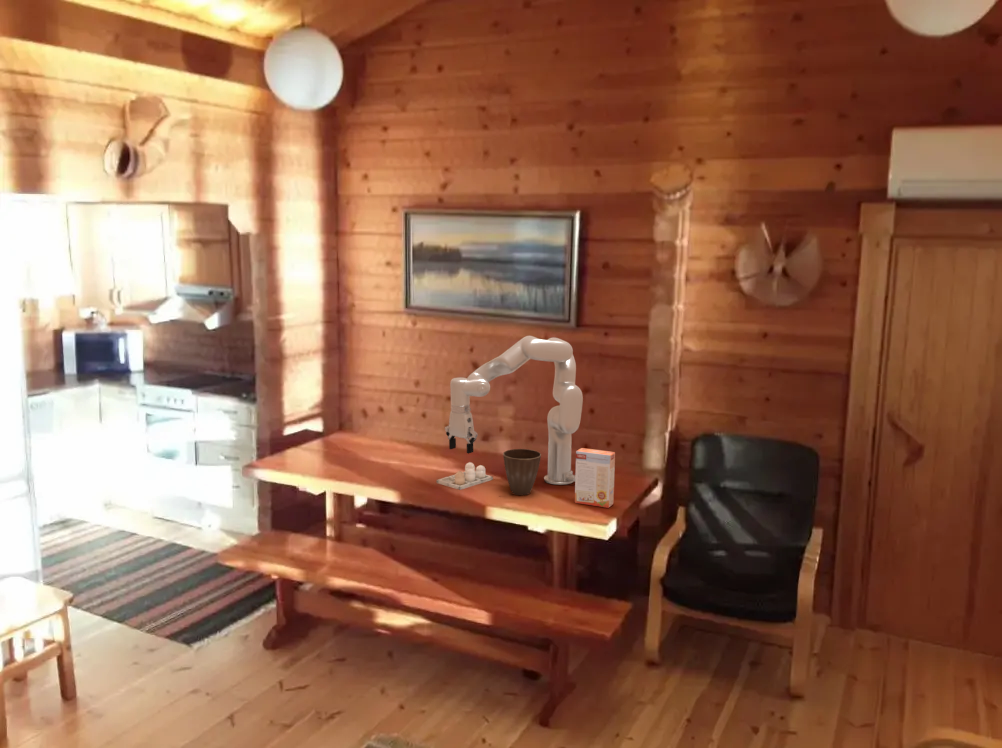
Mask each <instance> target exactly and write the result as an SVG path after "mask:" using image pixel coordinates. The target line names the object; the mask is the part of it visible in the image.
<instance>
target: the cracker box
mask: <svg viewBox="0 0 1002 748" xmlns="http://www.w3.org/2000/svg"><path fill="white" fill-rule="evenodd" d="M615 463H616V452H615V451H608V450H603V449H602V450H601V449H592V448H584V447H581V448H579V449H578V450H576V451H575V473H574V475H575V481H574V482H575V483H574V484H575V485H574V503H575V504H581V505H587V506H588V505H589V506H594V507H601V508H606V509H609V508H611V506H613V505H614V495H615V471H616V470H615V467H616V465H615Z"/></svg>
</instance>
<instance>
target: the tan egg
mask: <svg viewBox="0 0 1002 748" xmlns="http://www.w3.org/2000/svg"><path fill="white" fill-rule="evenodd" d="M463 472H464V471H457V472H456V473H455V474H454V475H455V484H456V485H459V486H461V485H464V484H465V475H464V473H463Z"/></svg>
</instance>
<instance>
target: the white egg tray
mask: <svg viewBox="0 0 1002 748" xmlns="http://www.w3.org/2000/svg"><path fill="white" fill-rule="evenodd" d="M462 472H463V473H464V475H465V471H462ZM493 479H494V477H493V476H492V475H487V474H485V478H483V479H478V478H476V471H475V481H474V482H471V483H470V482H467V481H465V484H464V485H461V486H459V485H456V484H455V474H451V475H449V476H445V477H442V478H439V479H436V484H439V485H443V486H445V487H449V488H453V489H455V490H459V491H460V490H464V489H468V488H471V487H473V486H477V485H480V484H483V483H486V482H487V483H488V482H489V481H492V480H493Z"/></svg>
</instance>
